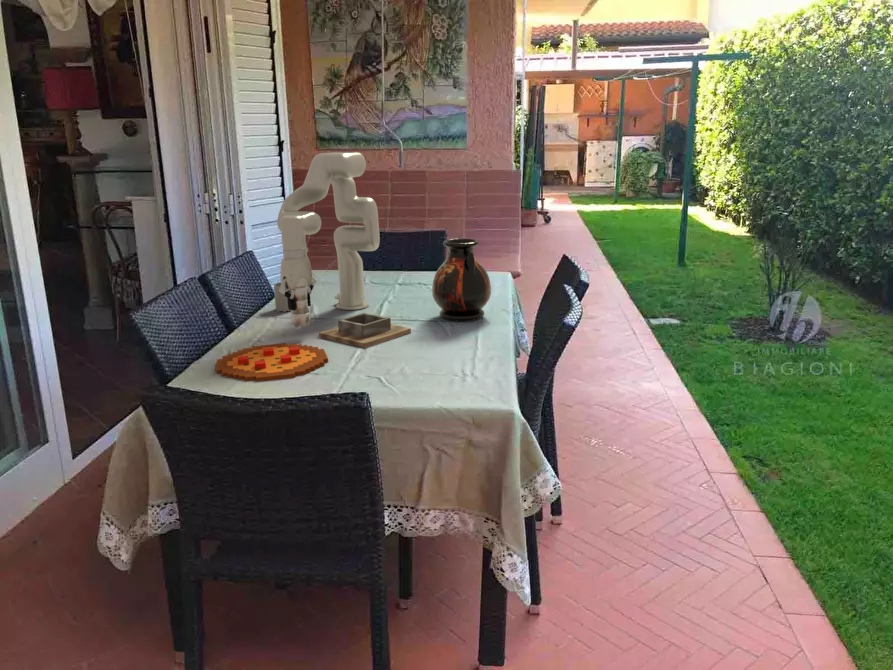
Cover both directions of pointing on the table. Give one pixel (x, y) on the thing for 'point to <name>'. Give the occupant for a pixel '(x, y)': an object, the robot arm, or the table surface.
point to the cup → (280, 299)
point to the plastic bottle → (301, 305)
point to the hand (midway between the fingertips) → (299, 307)
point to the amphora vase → (461, 283)
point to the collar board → (364, 330)
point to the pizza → (271, 362)
